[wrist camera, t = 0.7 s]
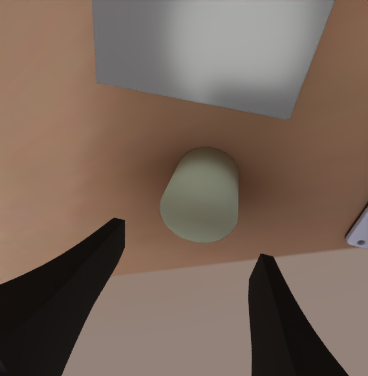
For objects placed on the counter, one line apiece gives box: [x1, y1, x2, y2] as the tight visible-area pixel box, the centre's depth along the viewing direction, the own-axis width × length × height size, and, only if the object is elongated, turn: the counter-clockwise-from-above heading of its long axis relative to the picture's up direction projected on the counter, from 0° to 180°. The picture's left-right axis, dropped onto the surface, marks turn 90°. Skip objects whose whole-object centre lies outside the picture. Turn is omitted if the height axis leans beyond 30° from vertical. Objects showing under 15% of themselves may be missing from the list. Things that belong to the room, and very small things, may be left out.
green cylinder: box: [160, 147, 239, 243], centre depth 17 cm, size 5×5×5 cm
